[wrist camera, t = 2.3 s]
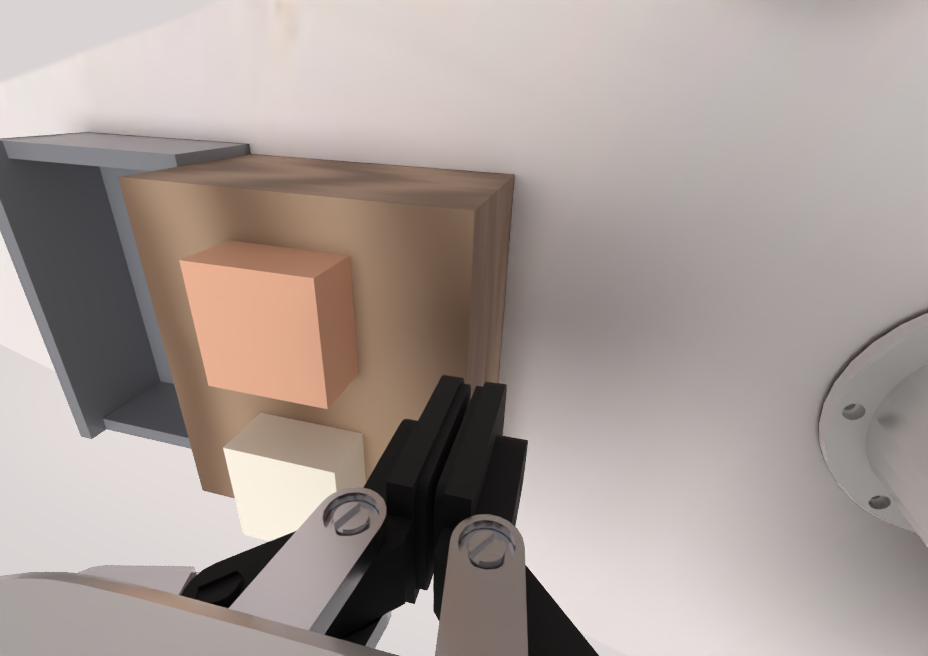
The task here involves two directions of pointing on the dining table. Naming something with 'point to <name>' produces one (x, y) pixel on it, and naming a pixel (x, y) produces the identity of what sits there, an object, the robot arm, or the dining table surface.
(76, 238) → the box
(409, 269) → the wooden box
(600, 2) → the dining table surface
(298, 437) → the cream tile
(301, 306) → the terracotta tile
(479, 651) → the robot arm
